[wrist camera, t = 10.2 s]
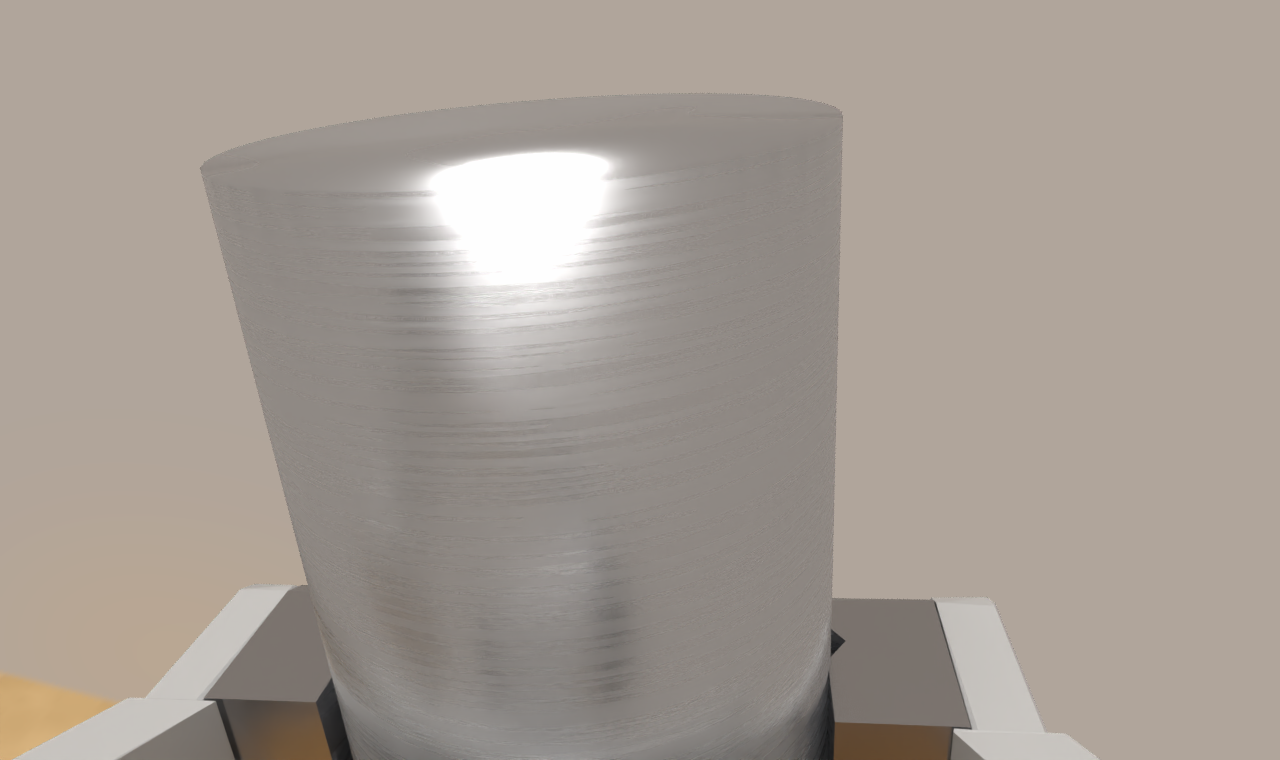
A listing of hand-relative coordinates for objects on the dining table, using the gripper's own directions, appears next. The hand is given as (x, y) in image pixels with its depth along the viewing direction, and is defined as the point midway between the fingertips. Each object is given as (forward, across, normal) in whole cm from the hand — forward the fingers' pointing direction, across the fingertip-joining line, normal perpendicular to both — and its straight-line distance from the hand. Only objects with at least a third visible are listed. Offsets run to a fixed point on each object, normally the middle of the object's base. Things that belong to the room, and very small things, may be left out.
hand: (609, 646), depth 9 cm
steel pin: (-1, 0, +8) cm, 8 cm away
